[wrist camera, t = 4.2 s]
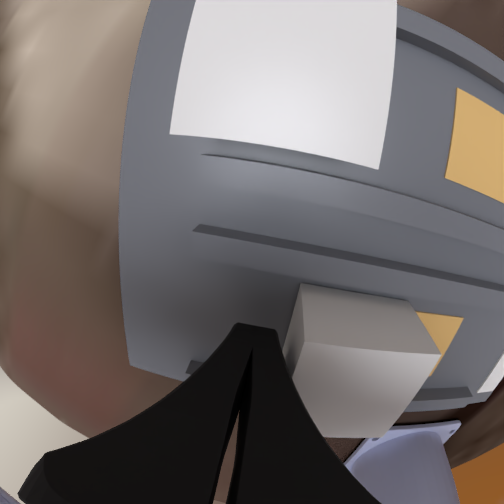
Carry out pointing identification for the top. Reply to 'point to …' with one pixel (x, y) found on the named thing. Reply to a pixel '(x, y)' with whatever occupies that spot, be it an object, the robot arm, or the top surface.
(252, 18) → the tab
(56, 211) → the top surface
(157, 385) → the top surface
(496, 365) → the switch board
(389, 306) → the tab
